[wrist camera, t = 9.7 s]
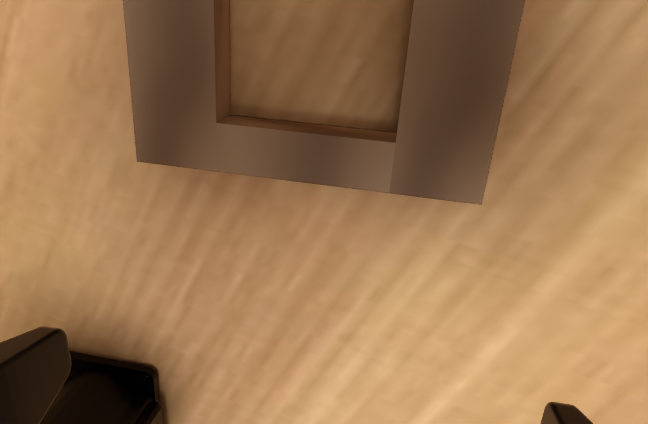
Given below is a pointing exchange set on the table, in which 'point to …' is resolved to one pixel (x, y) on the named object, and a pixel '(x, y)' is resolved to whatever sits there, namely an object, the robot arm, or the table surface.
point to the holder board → (323, 140)
